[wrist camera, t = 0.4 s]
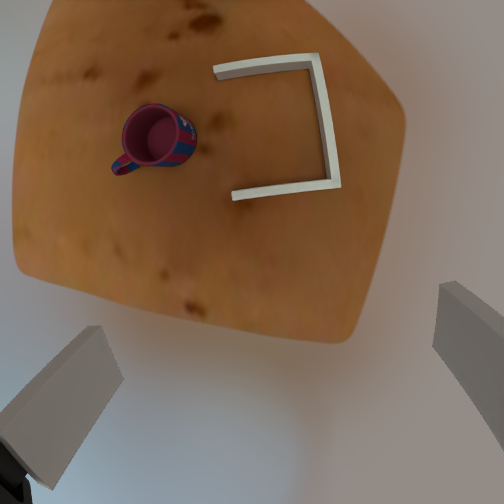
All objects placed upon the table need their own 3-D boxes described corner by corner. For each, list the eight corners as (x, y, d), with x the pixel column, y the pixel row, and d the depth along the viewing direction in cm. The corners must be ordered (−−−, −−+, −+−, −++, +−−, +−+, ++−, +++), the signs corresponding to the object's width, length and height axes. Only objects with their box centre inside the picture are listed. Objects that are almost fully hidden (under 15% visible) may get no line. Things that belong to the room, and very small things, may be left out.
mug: (206, 149, 34) (190, 144, 27) (140, 189, 36) (114, 193, 29) (183, 105, 32) (163, 91, 26) (119, 146, 34) (91, 143, 28)
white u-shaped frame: (217, 73, 31) (212, 65, 28) (315, 61, 30) (318, 52, 27) (236, 198, 35) (232, 200, 32) (335, 186, 34) (341, 187, 31)
